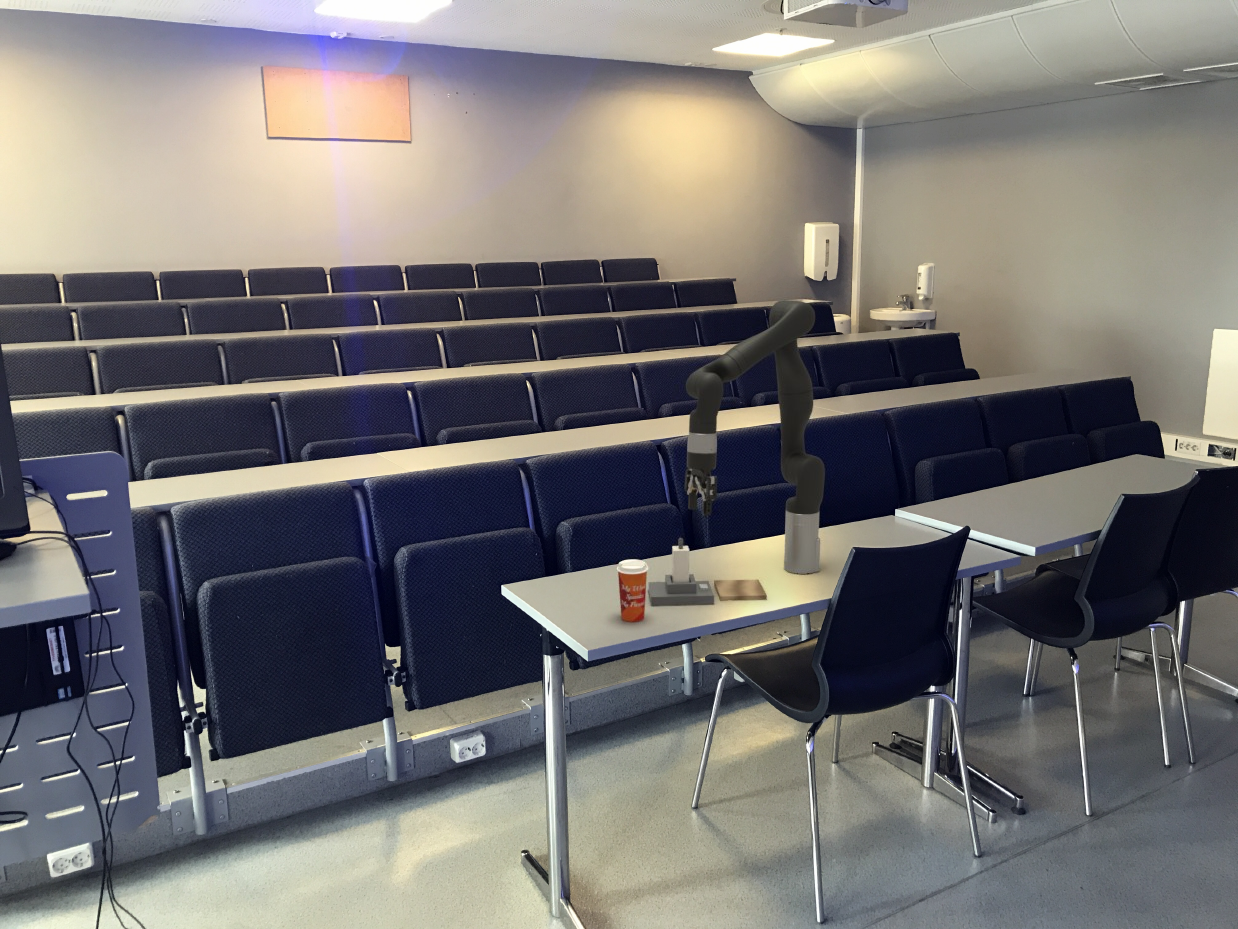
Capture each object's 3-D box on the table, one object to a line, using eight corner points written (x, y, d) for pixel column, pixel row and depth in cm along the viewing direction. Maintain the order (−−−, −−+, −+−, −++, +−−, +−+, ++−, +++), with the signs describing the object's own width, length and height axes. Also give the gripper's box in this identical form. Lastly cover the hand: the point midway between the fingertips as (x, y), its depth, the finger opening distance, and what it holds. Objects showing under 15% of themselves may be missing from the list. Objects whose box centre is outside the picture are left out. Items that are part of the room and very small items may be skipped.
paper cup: (620, 625, 225) (620, 570, 222) (614, 613, 232) (613, 560, 229) (652, 622, 226) (651, 567, 223) (645, 610, 234) (644, 557, 231)
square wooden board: (758, 583, 252) (758, 579, 252) (766, 599, 240) (766, 595, 240) (714, 584, 252) (714, 580, 251) (720, 600, 240) (720, 596, 240)
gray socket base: (708, 589, 248) (708, 571, 247) (713, 604, 237) (714, 586, 236) (648, 590, 248) (648, 572, 246) (651, 606, 237) (651, 587, 236)
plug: (687, 585, 244) (687, 535, 241) (689, 591, 240) (689, 540, 237) (672, 586, 244) (672, 535, 241) (673, 591, 240) (673, 540, 237)
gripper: (727, 453, 234) (725, 516, 236) (703, 446, 247) (700, 506, 249) (700, 454, 231) (698, 518, 233) (677, 447, 244) (675, 507, 246)
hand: (699, 512), depth 241 cm, fingers open, 8 cm apart
